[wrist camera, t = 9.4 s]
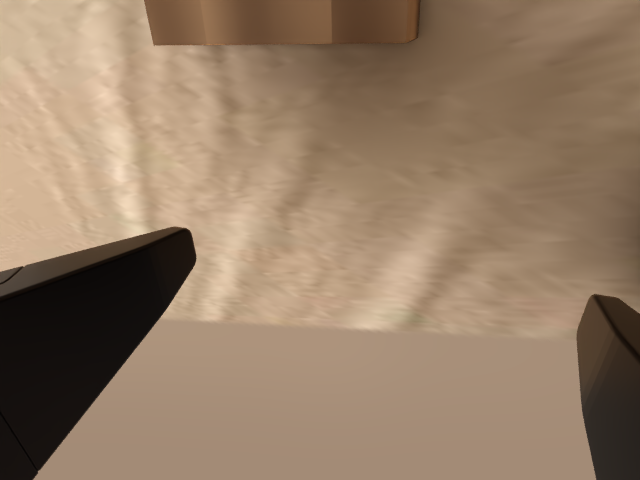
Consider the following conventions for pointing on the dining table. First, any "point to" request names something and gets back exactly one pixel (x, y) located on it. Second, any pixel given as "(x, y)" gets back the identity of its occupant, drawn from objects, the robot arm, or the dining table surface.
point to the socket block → (282, 21)
